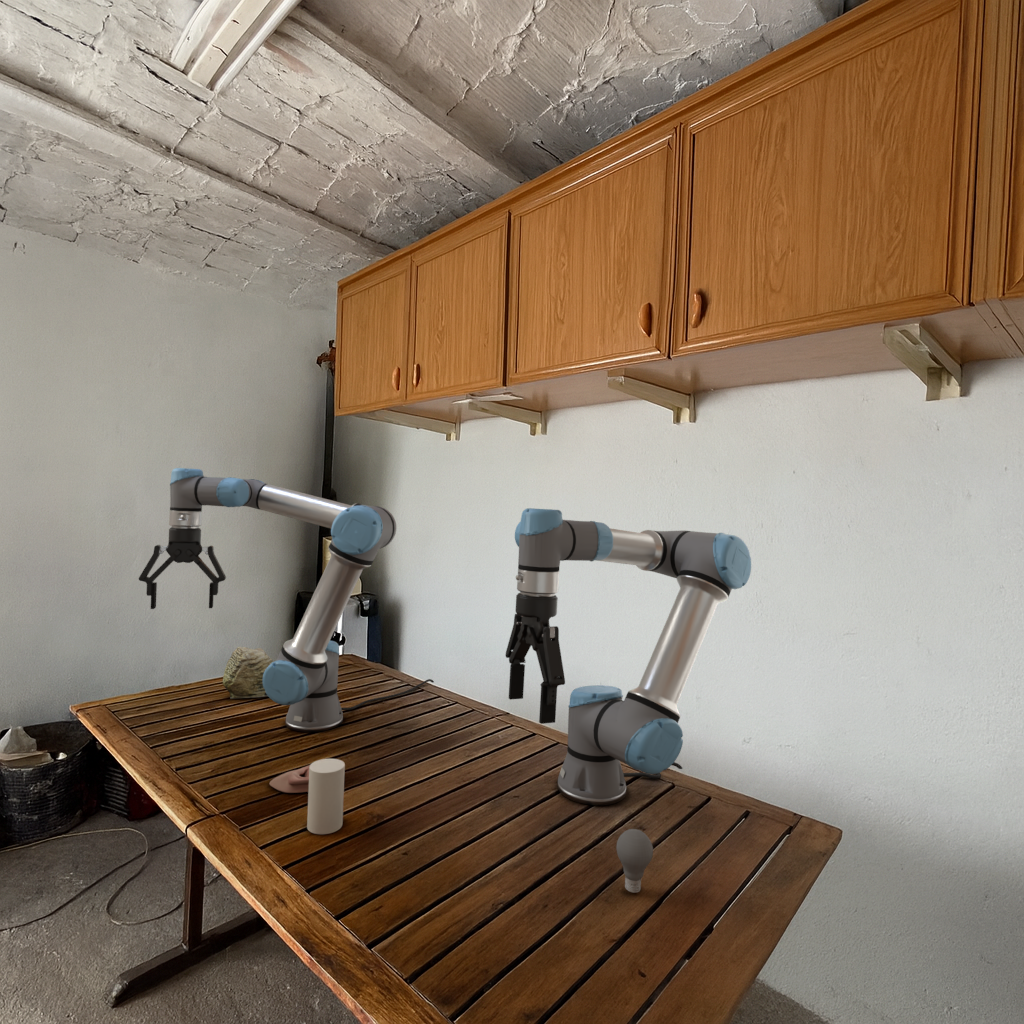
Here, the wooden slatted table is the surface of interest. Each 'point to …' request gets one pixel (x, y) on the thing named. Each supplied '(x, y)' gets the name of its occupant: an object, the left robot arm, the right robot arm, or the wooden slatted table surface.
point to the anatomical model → (292, 781)
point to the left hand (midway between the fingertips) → (182, 607)
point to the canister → (325, 796)
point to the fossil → (246, 673)
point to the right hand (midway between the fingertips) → (530, 710)
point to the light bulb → (634, 857)
